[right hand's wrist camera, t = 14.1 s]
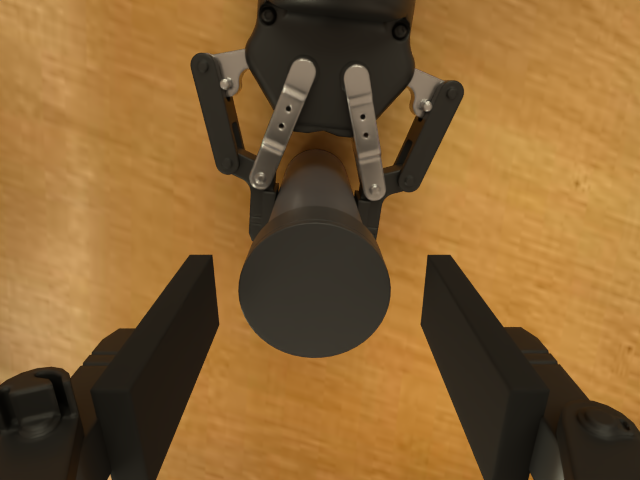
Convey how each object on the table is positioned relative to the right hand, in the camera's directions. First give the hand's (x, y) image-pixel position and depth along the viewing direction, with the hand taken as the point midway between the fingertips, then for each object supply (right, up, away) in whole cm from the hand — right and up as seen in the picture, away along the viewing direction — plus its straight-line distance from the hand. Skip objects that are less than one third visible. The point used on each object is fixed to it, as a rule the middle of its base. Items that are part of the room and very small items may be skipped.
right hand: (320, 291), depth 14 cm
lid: (0, 0, 0) cm, 0 cm away
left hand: (-1, +1, +11) cm, 11 cm away
